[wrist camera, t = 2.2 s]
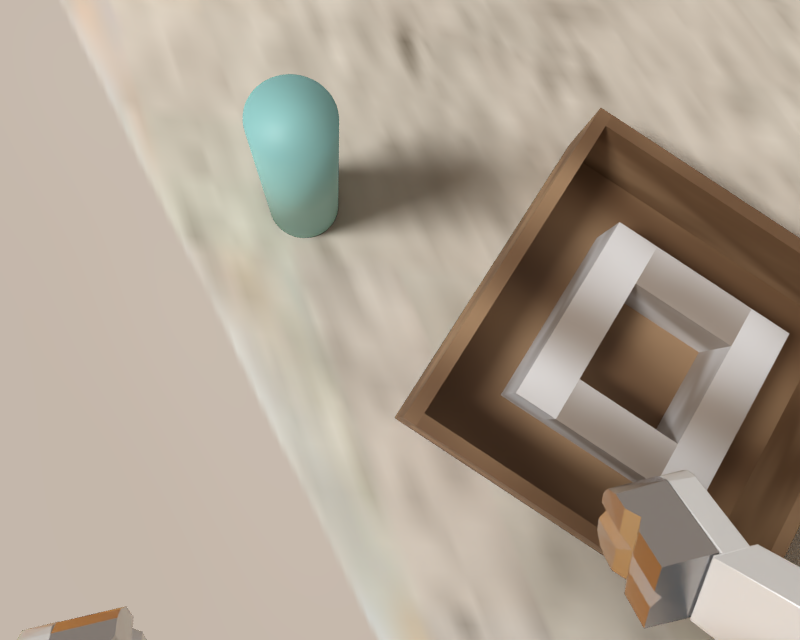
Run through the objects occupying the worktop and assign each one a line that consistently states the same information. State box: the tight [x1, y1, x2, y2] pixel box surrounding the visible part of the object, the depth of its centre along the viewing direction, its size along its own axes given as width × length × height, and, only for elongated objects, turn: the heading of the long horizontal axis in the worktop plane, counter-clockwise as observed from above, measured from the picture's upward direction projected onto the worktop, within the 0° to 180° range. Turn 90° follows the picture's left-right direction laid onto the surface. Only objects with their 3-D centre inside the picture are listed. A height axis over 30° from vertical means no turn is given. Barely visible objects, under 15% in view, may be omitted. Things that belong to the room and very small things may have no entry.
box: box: [395, 108, 800, 558], centre depth 29 cm, size 16×16×4 cm
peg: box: [243, 74, 339, 238], centre depth 26 cm, size 3×3×9 cm
